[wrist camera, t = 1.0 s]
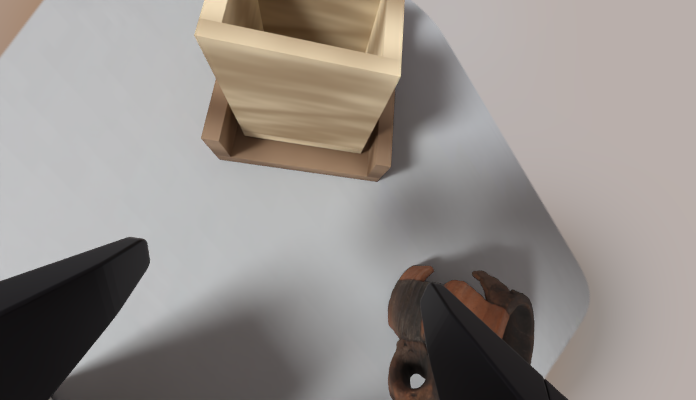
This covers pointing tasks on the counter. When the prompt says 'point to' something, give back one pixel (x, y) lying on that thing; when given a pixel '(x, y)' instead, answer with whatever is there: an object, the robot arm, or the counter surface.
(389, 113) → the bay
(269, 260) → the counter surface
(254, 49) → the crate
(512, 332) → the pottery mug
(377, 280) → the counter surface
